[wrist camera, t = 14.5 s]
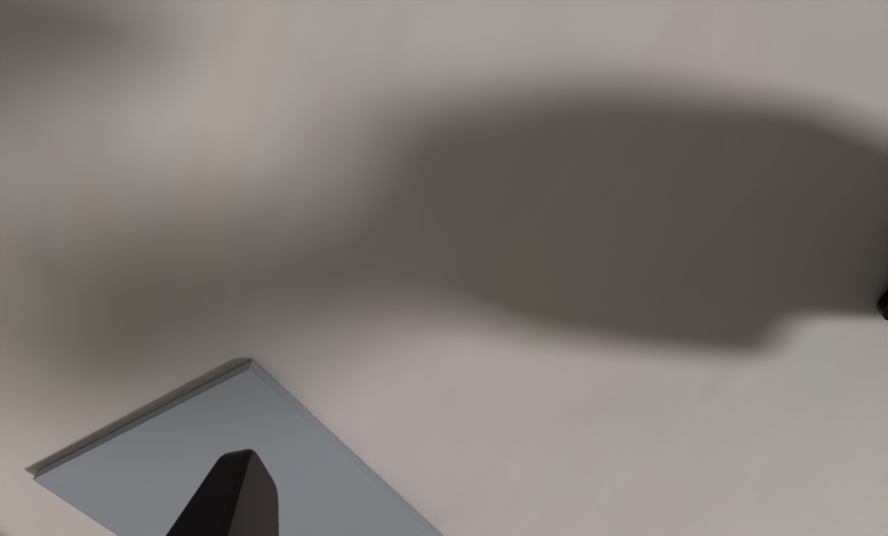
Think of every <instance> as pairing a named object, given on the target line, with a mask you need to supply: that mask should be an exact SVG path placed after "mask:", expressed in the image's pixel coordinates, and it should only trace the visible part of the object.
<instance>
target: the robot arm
mask: <svg viewBox="0 0 888 536" xmlns="http://www.w3.org/2000/svg"><path fill="white" fill-rule="evenodd" d="M877 309H878V311H879V312H880V313H881V315H882V316H883V317H884V319H886V320H888V290H887V291H886V292H885V293H884V295H883V296H882V297H881V298H880V300H879V301H878V303H877ZM166 536H279V503H278V492H277V487H276V484H275V482H274V480H273V478H272V477H271V475H270V474H269V472H268V470H267V469H266V467H265V465H264V464H263V462H262V460H261V459H260V457H259V456H258V454H257V453H256V452H255V451H254V450H252V449H244V450H239V451H233V452H228V453H225V454H223V455H222V456H221V457H220V458H219V459H218V460H217V461H216V463H215V464H214V466H213V467H212V469H211V470H210V471H209V473H208V474H207V476H206V477H205V479H204V480H203V482H202V483H201V485H200V486H199V488H198V489H197V490H196V492H195V493H194V495H193V496H192V498H191V499H190V501H189V502H188V504H187V505H186V507H185V508H184V509H183V511H182V512H181V514H180V515H179V517H178V518H177V520H176V521H175V523H174V524H173V526H172V527H171V529H170V530H169V531H168V533H167V534H166Z"/></svg>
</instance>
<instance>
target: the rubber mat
mask: <svg viewBox="0 0 888 536" xmlns="http://www.w3.org/2000/svg"><path fill="white" fill-rule="evenodd" d="M244 449H252V450H254V451H255V452H256V453H257V454H258V456H259V457H260V459H261V460H262V462H263V464H264V465H265V467H266V469H267V470H268V472H269V474H270V475H271V477H272V478H273V480H274V482H275V484H276V487H277V492H278V503H279V536H442V535H441V534H440V533H439V532H438V531H437V530H436V529H435V528H434V527H433V526H431V525H430V524H429V523H428V522H427V521H426V520H425V519H424V518H423V517H422V516H421V515H420V514H418V513H417V512H416V511H415V510H414V509H413V508H412V507H411V506H410V505H409V504H408V503H407V502H406V501H404V500H403V499H402V498H401V497H400V496H399V495H398V494H397V493H396V492H395V491H394V490H393V489H391V488H390V487H389V486H388V485H387V484H386V483H385V482H384V481H383V480H382V479H381V478H380V477H379V476H377V475H376V474H375V473H374V472H373V471H372V470H371V469H370V468H369V467H368V466H367V465H366V464H364V463H363V462H362V461H361V460H360V459H359V458H358V457H357V456H356V455H355V454H354V453H353V452H352V451H350V450H349V449H348V448H347V447H346V446H345V445H344V444H343V443H342V442H341V441H340V440H339V439H337V438H336V437H335V436H334V435H333V434H332V433H331V432H330V431H329V430H328V429H327V428H326V427H324V426H323V425H322V424H321V423H320V422H319V421H318V420H317V419H316V418H315V417H314V416H313V415H312V414H310V413H309V412H308V411H307V410H306V409H305V408H304V407H303V406H302V405H301V404H300V403H299V402H297V401H296V400H295V399H294V398H293V397H292V396H291V395H290V394H289V393H288V392H287V391H286V390H285V389H283V388H282V387H281V386H280V385H279V384H278V383H277V382H276V381H275V380H274V379H273V378H272V377H270V376H269V375H268V374H267V373H266V372H265V371H264V370H263V369H262V368H261V367H260V366H259V365H258V364H256V363H255V362H254V361H253V360H251V361H249V362H247V363H246V364H244V365H242V366H240V367H238V368H236V369H234V370H232V371H230V372H228V373H226V374H224V375H222V376H220V377H218V378H216V379H215V380H213V381H211V382H209V383H207V384H205V385H203V386H201V387H199V388H197V389H195V390H193V391H191V392H189V393H187V394H186V395H184V396H182V397H180V398H178V399H176V400H174V401H172V402H170V403H168V404H166V405H164V406H162V407H160V408H158V409H157V410H155V411H153V412H151V413H149V414H147V415H145V416H143V417H141V418H139V419H137V420H135V421H133V422H131V423H129V424H128V425H126V426H124V427H122V428H120V429H118V430H116V431H114V432H112V433H110V434H108V435H106V436H104V437H102V438H100V439H98V440H97V441H95V442H93V443H91V444H89V445H87V446H85V447H83V448H81V449H79V450H77V451H75V452H73V453H71V454H69V455H68V456H66V457H64V458H62V459H60V460H58V461H56V462H54V463H52V464H50V465H48V466H46V467H44V468H42V469H40V470H39V471H38V472H37V474H36V475H35V477H34V479H33V480H34V481H36V482H37V483H39V484H40V485H42V486H43V487H45V488H46V489H48V490H49V491H51V492H52V493H54V494H55V495H57V496H58V497H60V498H61V499H63V500H64V501H66V502H67V503H69V504H70V505H72V506H73V507H75V508H77V509H78V510H80V511H81V512H83V513H84V514H86V515H87V516H89V517H90V518H92V519H93V520H95V521H96V522H98V523H99V524H101V525H102V526H104V527H105V528H107V529H108V530H110V531H111V532H113V533H115V534H116V535H118V536H166V534H167V533H168V531H169V530H170V529H171V527H172V526H173V524H174V523H175V521H176V520H177V518H178V517H179V515H180V514H181V512H182V511H183V509H184V508H185V507H186V505H187V504H188V502H189V501H190V499H191V498H192V496H193V495H194V493H195V492H196V490H197V489H198V488H199V486H200V485H201V483H202V482H203V480H204V479H205V477H206V476H207V474H208V473H209V471H210V470H211V469H212V467H213V466H214V464H215V463H216V461H217V460H218V459H219V458H220V457H221V456H222V455H223V454H225V453H228V452H233V451H239V450H244Z"/></svg>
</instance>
